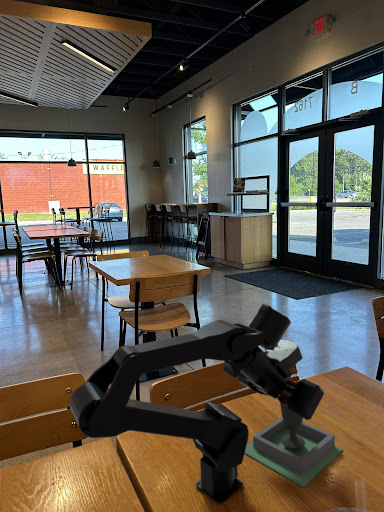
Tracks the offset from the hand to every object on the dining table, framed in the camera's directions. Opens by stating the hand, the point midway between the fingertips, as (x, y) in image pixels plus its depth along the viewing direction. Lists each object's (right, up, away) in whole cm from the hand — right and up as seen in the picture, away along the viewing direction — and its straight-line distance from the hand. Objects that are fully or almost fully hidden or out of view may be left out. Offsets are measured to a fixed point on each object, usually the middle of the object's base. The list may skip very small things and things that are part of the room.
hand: (297, 403), depth 80 cm
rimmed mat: (-1, -10, +1) cm, 10 cm away
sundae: (-1, -8, 0) cm, 8 cm away
